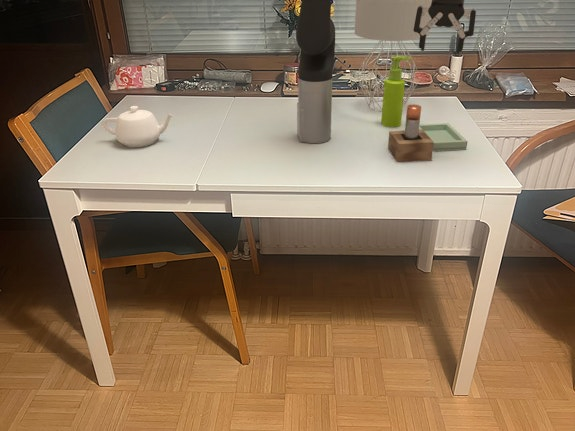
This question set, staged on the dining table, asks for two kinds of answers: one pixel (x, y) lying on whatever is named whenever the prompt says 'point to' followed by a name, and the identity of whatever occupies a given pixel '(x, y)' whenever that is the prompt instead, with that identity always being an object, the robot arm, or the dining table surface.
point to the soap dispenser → (393, 95)
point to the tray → (444, 137)
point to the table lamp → (388, 30)
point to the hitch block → (410, 147)
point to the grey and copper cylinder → (412, 122)
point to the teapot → (136, 127)
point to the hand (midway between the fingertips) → (440, 51)
